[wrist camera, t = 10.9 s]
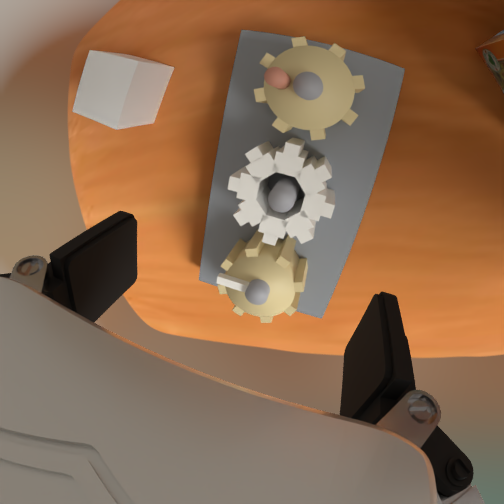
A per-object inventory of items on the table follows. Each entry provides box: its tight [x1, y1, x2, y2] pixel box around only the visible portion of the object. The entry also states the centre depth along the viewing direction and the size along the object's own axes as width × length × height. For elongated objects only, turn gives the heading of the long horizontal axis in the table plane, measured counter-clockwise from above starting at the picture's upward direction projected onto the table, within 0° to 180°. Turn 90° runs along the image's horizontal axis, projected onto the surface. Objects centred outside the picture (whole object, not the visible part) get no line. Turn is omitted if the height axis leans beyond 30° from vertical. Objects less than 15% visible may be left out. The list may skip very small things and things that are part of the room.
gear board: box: [199, 30, 405, 323], centre depth 22 cm, size 13×24×8 cm, turn 169°
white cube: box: [72, 50, 175, 130], centre depth 22 cm, size 6×6×6 cm
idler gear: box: [228, 138, 335, 246], centre depth 22 cm, size 8×8×4 cm
